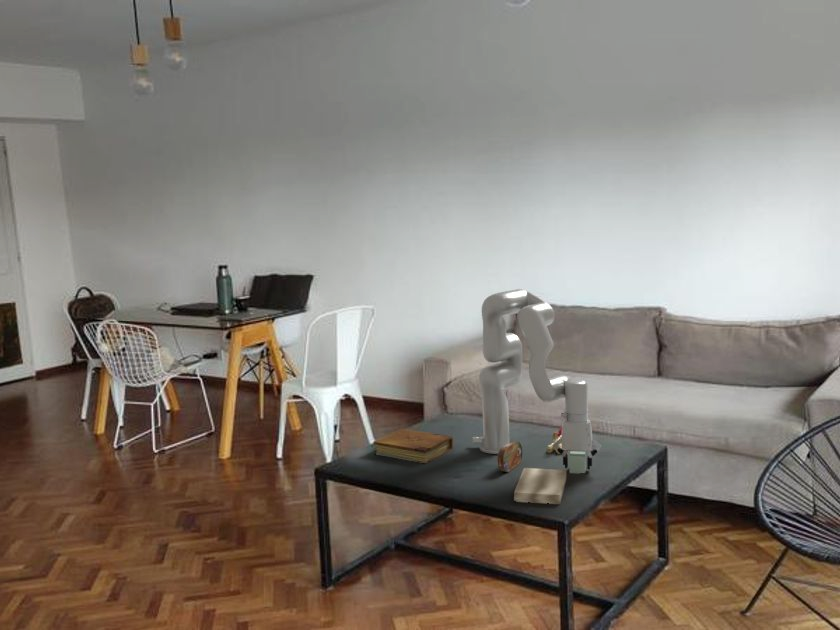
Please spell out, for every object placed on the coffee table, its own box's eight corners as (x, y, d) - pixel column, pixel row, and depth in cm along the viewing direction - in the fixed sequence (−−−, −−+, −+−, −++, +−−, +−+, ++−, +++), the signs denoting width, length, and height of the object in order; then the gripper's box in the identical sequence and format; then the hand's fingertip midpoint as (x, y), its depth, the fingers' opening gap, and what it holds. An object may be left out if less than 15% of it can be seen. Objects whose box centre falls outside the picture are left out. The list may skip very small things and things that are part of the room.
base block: (514, 501, 253) (513, 492, 252) (524, 476, 273) (524, 467, 273) (559, 504, 249) (559, 494, 248) (566, 478, 270) (566, 469, 269)
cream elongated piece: (567, 458, 293) (593, 434, 313) (565, 436, 291) (592, 412, 311) (541, 454, 298) (568, 430, 318) (540, 432, 296) (567, 409, 316)
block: (569, 473, 275) (569, 456, 274) (570, 468, 280) (570, 451, 279) (584, 473, 274) (584, 456, 273) (585, 468, 278) (585, 451, 277)
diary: (453, 450, 306) (452, 435, 305) (425, 465, 290) (425, 450, 289) (403, 441, 318) (402, 427, 317) (374, 455, 303) (373, 441, 302)
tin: (504, 475, 276) (503, 451, 274) (496, 474, 277) (495, 450, 276) (523, 461, 288) (522, 438, 287) (515, 460, 290) (514, 437, 288)
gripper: (549, 419, 272) (550, 470, 275) (602, 420, 268) (603, 472, 270) (551, 412, 279) (552, 462, 282) (603, 414, 275) (604, 464, 278)
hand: (577, 467), depth 276 cm, fingers open, 6 cm apart
